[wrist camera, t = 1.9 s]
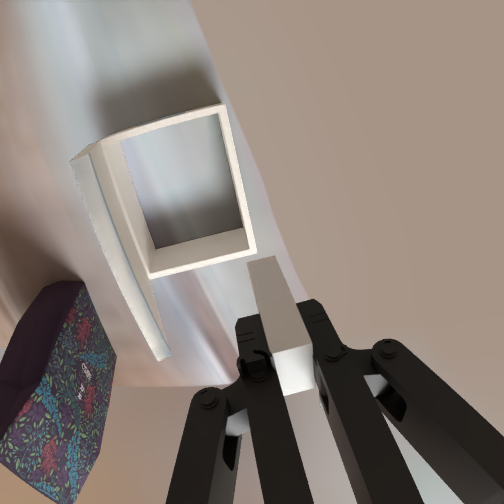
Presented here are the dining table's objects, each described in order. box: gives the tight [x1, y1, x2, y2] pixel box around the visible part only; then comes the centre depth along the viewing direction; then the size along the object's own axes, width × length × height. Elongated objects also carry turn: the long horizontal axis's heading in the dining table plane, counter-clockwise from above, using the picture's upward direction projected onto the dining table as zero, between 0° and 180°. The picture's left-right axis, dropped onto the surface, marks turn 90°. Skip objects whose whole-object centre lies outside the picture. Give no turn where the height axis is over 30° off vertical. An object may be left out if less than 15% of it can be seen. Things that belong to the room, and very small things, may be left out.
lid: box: [69, 141, 172, 361], centre depth 25 cm, size 16×13×1 cm
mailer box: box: [97, 103, 257, 279], centre depth 34 cm, size 16×13×6 cm
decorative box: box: [0, 281, 117, 504], centre depth 32 cm, size 8×16×28 cm, turn 5°
